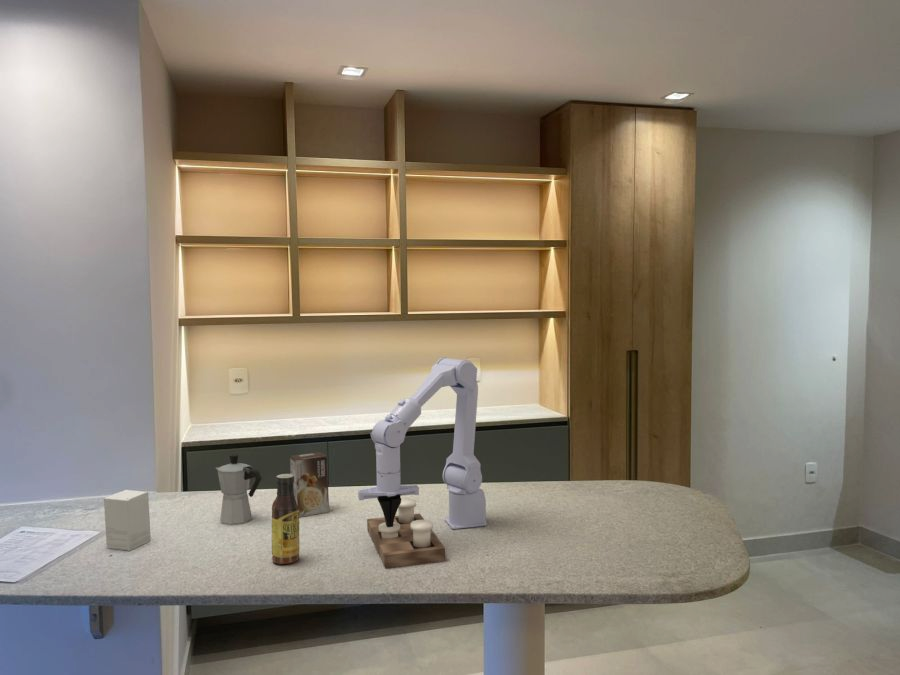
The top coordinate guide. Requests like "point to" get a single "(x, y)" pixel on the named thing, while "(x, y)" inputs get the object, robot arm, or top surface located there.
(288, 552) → the sauce bottle
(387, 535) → the knob middle
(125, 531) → the supplement box
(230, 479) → the coffee maker
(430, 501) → the top surface
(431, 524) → the knob camera side
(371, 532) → the knob panel
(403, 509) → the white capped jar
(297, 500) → the coffee box
